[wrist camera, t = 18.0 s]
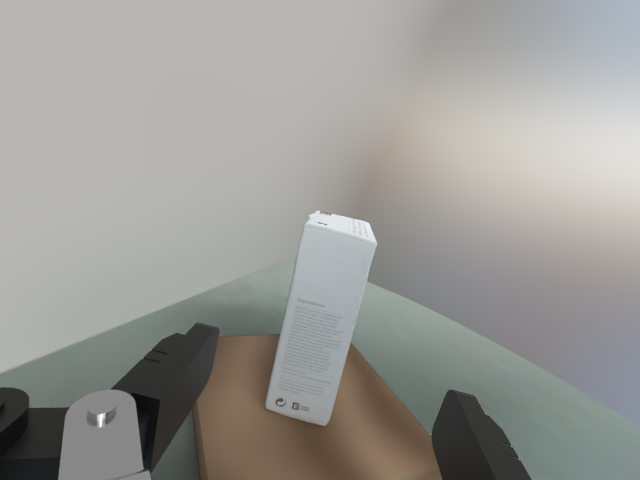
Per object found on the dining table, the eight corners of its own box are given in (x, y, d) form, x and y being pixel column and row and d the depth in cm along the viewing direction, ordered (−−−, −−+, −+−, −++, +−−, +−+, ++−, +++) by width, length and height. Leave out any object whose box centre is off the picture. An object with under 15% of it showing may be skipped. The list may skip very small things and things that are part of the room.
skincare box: (329, 430, 20) (385, 243, 17) (258, 410, 20) (302, 222, 17) (333, 368, 26) (376, 222, 23) (279, 354, 26) (314, 207, 23)
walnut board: (337, 345, 32) (341, 331, 32) (442, 478, 20) (450, 459, 20) (185, 354, 26) (188, 337, 25) (210, 560, 14) (215, 534, 13)
